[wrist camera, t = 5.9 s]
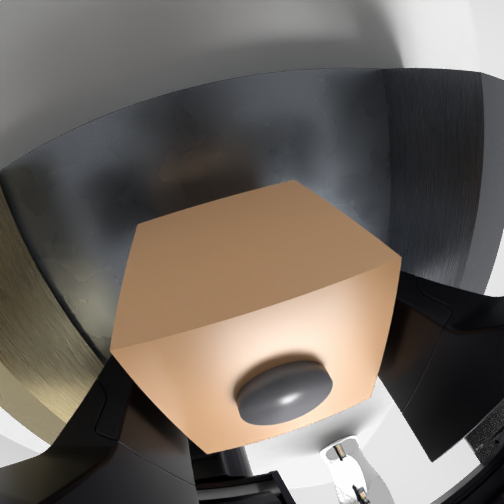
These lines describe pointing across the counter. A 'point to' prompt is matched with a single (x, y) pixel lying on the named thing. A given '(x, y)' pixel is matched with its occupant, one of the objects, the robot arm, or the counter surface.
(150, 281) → the block
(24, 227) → the vise bed
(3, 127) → the counter surface
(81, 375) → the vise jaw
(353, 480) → the beer glass
